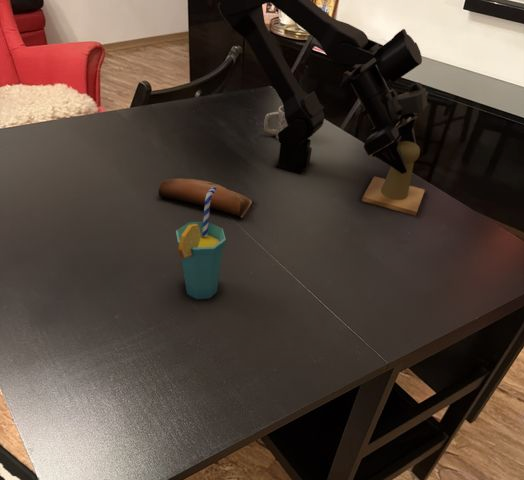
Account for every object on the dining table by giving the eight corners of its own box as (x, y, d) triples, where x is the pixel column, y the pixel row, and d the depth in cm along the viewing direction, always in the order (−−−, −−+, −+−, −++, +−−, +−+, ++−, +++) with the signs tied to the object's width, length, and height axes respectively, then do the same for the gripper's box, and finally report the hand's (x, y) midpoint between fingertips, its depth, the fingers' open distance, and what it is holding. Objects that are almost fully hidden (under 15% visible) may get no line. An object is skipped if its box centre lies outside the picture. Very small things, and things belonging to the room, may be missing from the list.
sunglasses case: (254, 198, 100) (250, 180, 94) (243, 228, 99) (239, 211, 92) (175, 179, 103) (167, 160, 97) (164, 207, 102) (154, 190, 95)
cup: (191, 258, 85) (189, 178, 74) (234, 265, 85) (238, 187, 74) (167, 308, 76) (160, 225, 65) (215, 317, 75) (216, 235, 64)
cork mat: (361, 200, 105) (362, 196, 104) (373, 180, 112) (374, 176, 111) (415, 215, 102) (417, 211, 102) (423, 193, 110) (425, 189, 109)
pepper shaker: (410, 190, 108) (426, 142, 100) (404, 202, 104) (421, 152, 96) (384, 183, 109) (398, 134, 101) (377, 194, 105) (392, 145, 97)
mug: (298, 131, 127) (302, 105, 123) (303, 142, 123) (307, 115, 118) (261, 130, 126) (263, 103, 121) (264, 141, 121) (267, 114, 117)
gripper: (397, 83, 84) (436, 162, 89) (422, 59, 96) (456, 129, 101) (346, 118, 92) (385, 188, 97) (375, 92, 104) (409, 155, 109)
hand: (410, 164), depth 101 cm, fingers open, 9 cm apart
